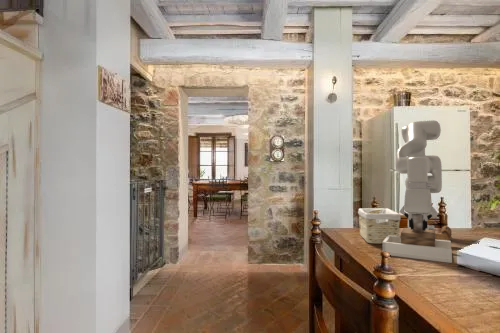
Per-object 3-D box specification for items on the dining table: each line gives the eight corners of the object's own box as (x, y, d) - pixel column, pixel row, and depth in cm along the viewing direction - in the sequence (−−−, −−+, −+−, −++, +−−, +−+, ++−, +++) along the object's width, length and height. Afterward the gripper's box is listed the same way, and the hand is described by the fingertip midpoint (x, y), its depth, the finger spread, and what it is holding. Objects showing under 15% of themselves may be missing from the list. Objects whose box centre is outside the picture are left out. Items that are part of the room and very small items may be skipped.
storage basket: (357, 234, 174) (357, 207, 174) (388, 234, 171) (388, 207, 171) (365, 244, 150) (365, 213, 150) (402, 245, 147) (401, 214, 147)
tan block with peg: (400, 251, 131) (400, 215, 131) (403, 245, 141) (403, 211, 142) (435, 255, 125) (434, 217, 125) (435, 248, 135) (435, 213, 135)
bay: (382, 254, 132) (382, 242, 132) (388, 245, 147) (388, 234, 147) (452, 262, 120) (451, 249, 120) (450, 252, 134) (450, 240, 134)
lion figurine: (443, 244, 149) (443, 224, 149) (455, 246, 144) (454, 226, 144) (423, 247, 143) (423, 227, 143) (434, 250, 138) (434, 229, 138)
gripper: (440, 186, 132) (441, 229, 132) (396, 185, 141) (397, 226, 141) (440, 187, 126) (441, 233, 125) (394, 186, 134) (395, 229, 134)
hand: (418, 229), depth 133 cm, fingers closed on tan block with peg, 4 cm apart
